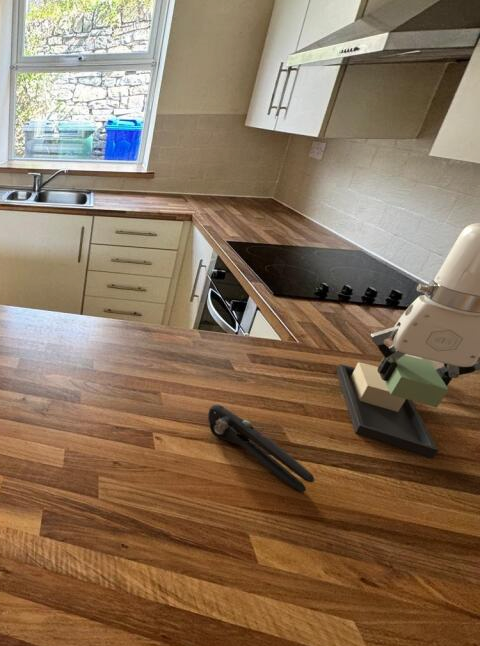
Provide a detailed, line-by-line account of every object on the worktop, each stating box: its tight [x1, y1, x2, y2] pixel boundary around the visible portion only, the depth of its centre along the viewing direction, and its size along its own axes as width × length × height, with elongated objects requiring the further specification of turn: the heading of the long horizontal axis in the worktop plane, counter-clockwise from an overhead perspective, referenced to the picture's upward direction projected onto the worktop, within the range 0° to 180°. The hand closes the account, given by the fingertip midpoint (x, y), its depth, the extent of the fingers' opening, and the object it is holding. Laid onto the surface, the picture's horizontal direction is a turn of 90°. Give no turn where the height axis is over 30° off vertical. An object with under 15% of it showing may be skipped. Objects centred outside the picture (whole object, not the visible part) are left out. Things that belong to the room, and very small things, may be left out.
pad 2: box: [377, 355, 450, 409], centre depth 74 cm, size 6×10×4 cm, turn 147°
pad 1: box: [351, 361, 406, 412], centre depth 86 cm, size 6×10×4 cm, turn 147°
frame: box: [336, 363, 439, 459], centre depth 83 cm, size 11×24×2 cm, turn 147°
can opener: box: [207, 404, 315, 493], centre depth 70 cm, size 18×7×6 cm, turn 23°
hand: (407, 382), depth 75 cm, fingers closed on pad 2, 6 cm apart
